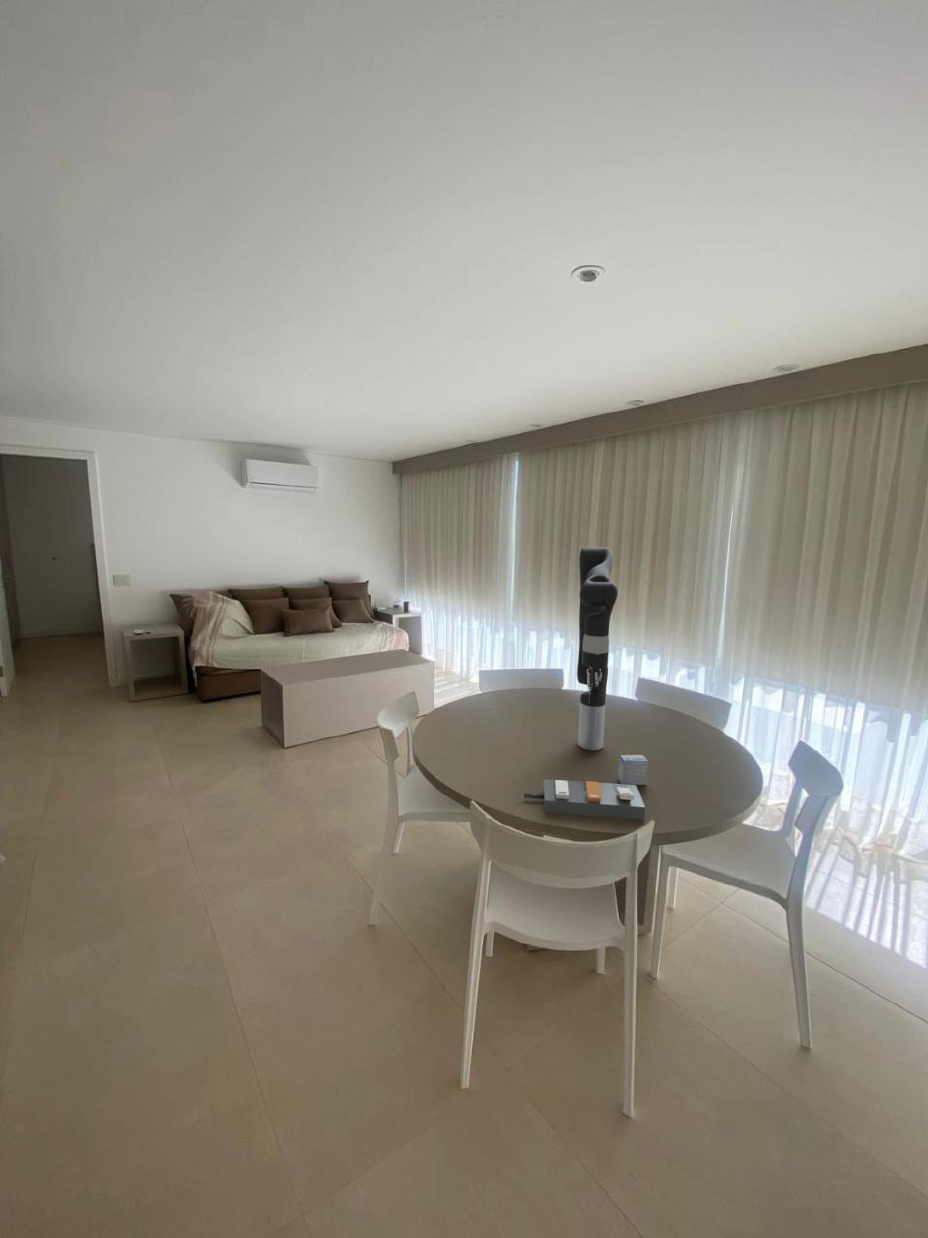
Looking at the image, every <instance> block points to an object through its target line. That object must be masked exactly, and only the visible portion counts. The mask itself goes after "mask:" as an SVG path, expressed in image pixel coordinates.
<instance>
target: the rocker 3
mask: <svg viewBox="0 0 928 1238" xmlns="http://www.w3.org/2000/svg"><path fill="white" fill-rule="evenodd" d="M616 792H617V794H618V796H619V797H620V799H627V800H634V795H633V793H632V792H631V790H630V789H629V788H619V787H617V791H616Z"/></svg>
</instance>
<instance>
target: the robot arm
mask: <svg viewBox="0 0 928 1238" xmlns="http://www.w3.org/2000/svg"><path fill="white" fill-rule="evenodd" d="M578 560H579V587H580V589H579V609H578V610H579V613H578V617H579V618H578V627H579V628H578V634H579V635H578V636H579V637H578V638H579V639H578V641H579V642H578V657H577V668H576V677H577V682H578V684H580V685H584V686H585V685H586V686H587V687H588V688H587V690H588V691H584V692H583V693H581V694H580V695H579V715H578V717H579V718H578V719H579V720H578V736H577V737H578V738H577V740H578V741H577V746H579V747H580V748H581V749H583V750H587V751H600V750H601V749H602V748H603V747H604V733H605V718H606V717H605V716H606V700H607V699H606V697H607V686H608V678H609V665H608V664H609V654H610V653H609V652H610V648H609V647H610V621H611V617H612V613H613V609H614V606H615V604H616V602H617V598H618V595H619V591H618V588H617V585H615V583H614V582H611V578H610V576H611V573H612V568H613V562H614V561H613V560H614V559H613V552H612V550H611V549H610V548H609V547H605V546H604V547H602V546H601V547H597V546H596V547H582V548H581V550H580V552H579V559H578Z"/></svg>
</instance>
